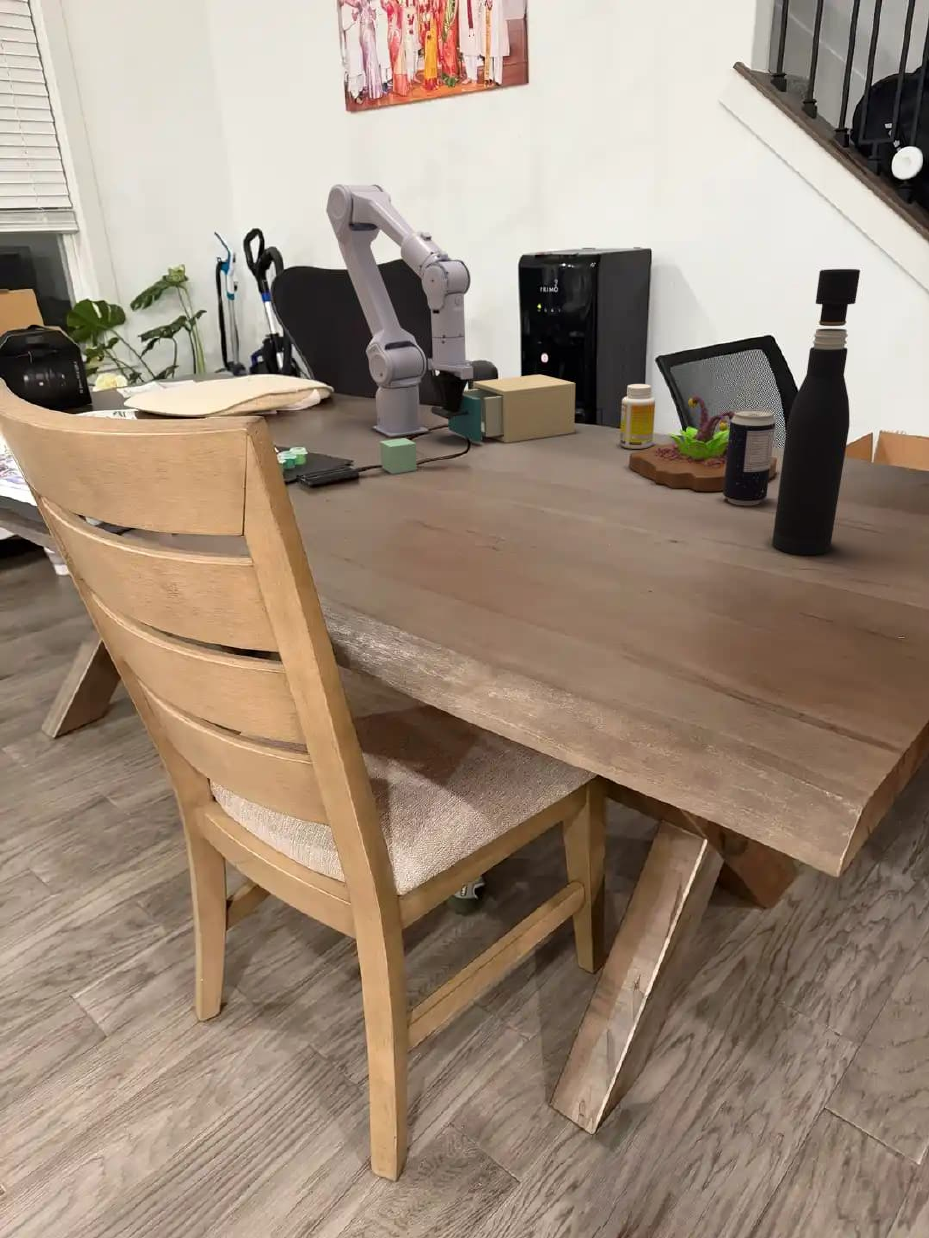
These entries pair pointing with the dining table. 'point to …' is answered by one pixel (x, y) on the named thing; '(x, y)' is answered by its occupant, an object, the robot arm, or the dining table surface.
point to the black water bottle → (817, 429)
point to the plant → (691, 456)
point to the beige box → (533, 406)
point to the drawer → (476, 414)
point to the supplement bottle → (637, 417)
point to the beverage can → (749, 456)
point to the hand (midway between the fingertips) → (451, 415)
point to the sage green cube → (398, 455)
